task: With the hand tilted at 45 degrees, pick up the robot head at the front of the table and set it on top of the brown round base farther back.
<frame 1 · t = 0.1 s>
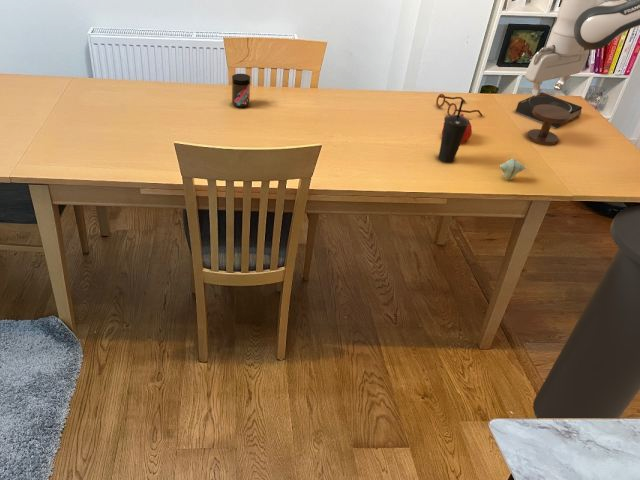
hand: (546, 92, 170), 26 cm above the table, tool pointing down, fingers open, 8 cm apart
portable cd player: (546, 115, 221), on the table
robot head: (507, 179, 183), on the table
supplement container: (240, 105, 218), on the table
glasses: (458, 111, 221), on the table
drinking cup: (445, 159, 191), on the table
brown round base: (541, 138, 205), on the table
red tomato: (454, 139, 203), on the table
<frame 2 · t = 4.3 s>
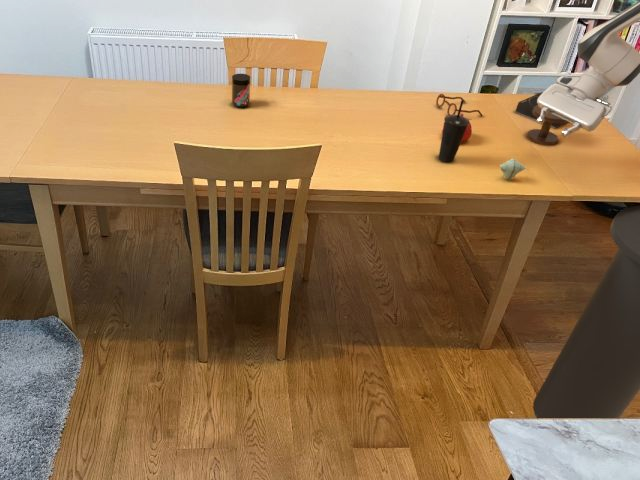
hand: (551, 128, 178), 14 cm above the table, tool tilted 45°, fingers open, 8 cm apart
nothing on the table moved.
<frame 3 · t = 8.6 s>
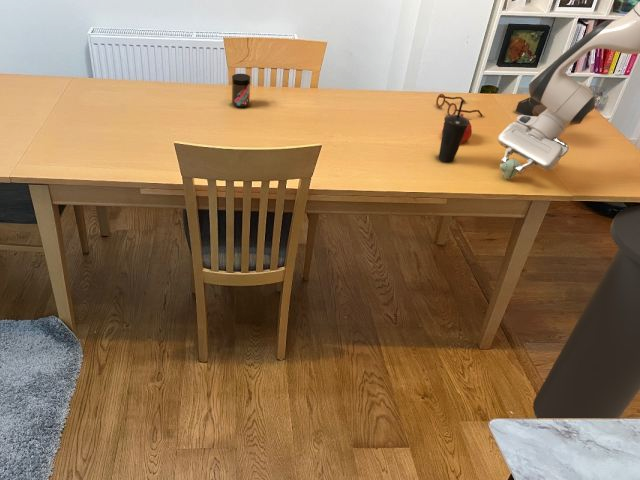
hand: (510, 167, 180), 4 cm above the table, tool tilted 45°, fingers closed on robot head, 4 cm apart
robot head: (507, 179, 183), on the table, touching gripper
everything else where it was.
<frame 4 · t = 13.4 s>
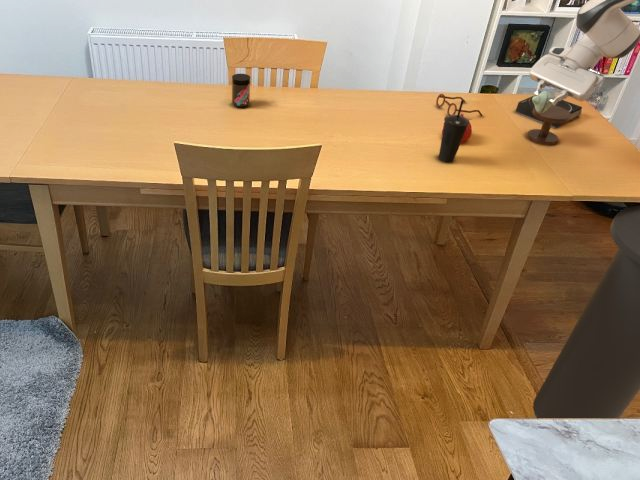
hand: (543, 99, 177), 21 cm above the table, tool tilted 45°, fingers closed on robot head, 4 cm apart
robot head: (539, 113, 180), point 17 cm above the table, touching gripper
everything else where it was.
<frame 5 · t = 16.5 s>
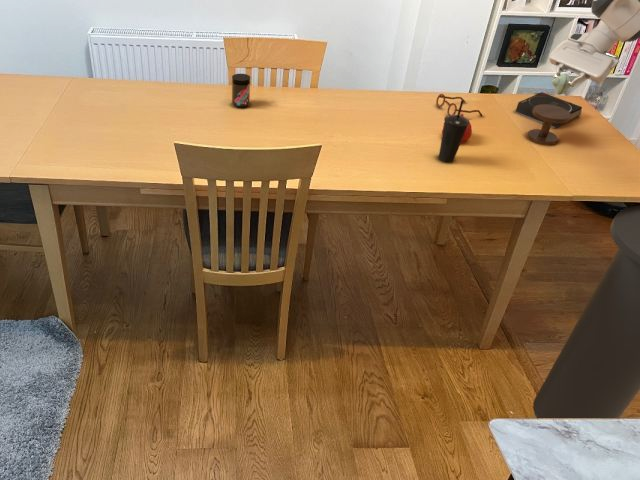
hand: (562, 81, 192), 20 cm above the table, tool tilted 45°, fingers closed on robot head, 4 cm apart
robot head: (558, 94, 195), point 16 cm above the table, touching gripper
everything else where it was.
when the fingers open (14 cm above the table, at t = 18.7 s): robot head stays where it is, resting on brown round base.
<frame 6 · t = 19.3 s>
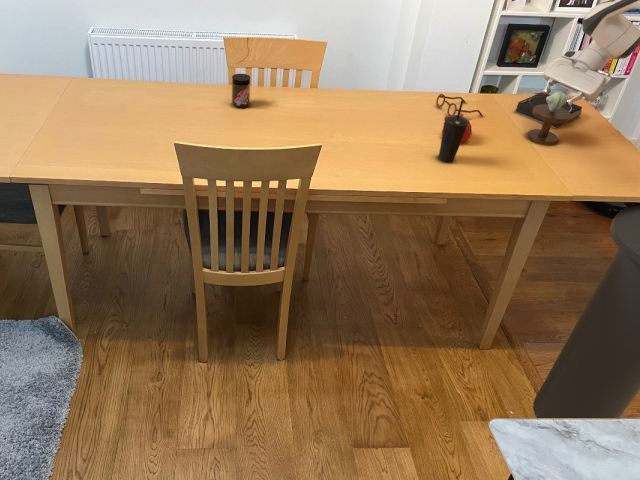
hand: (556, 98, 195), 15 cm above the table, tool tilted 45°, fingers open, 8 cm apart
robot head: (552, 112, 199), point 10 cm above the table, touching brown round base
everything else where it was.
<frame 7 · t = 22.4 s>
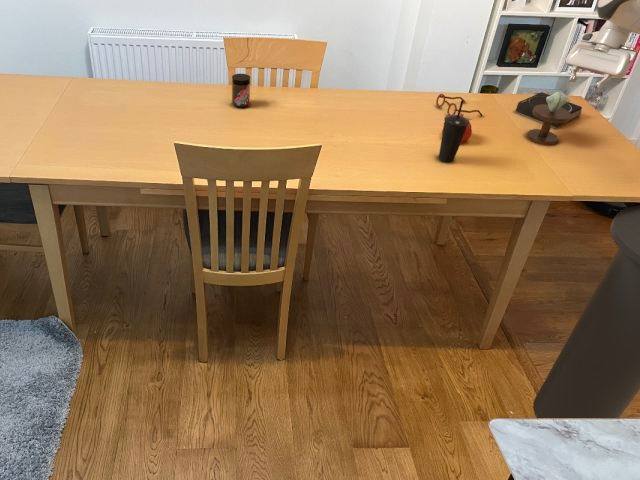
hand: (584, 84, 193), 20 cm above the table, tool tilted 30°, fingers open, 8 cm apart
nothing on the table moved.
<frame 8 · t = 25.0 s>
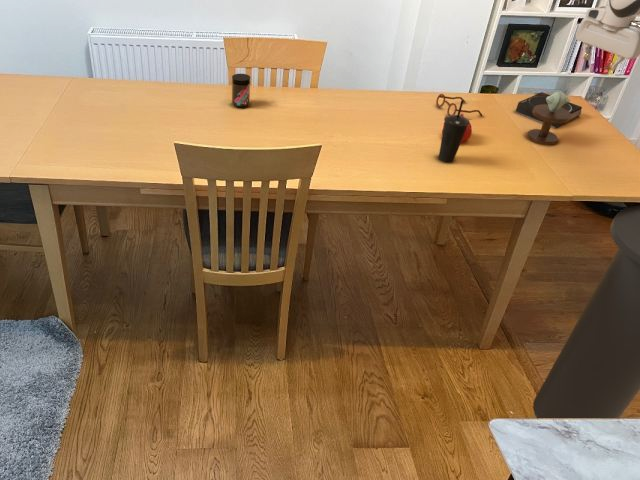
hand: (598, 64, 180), 29 cm above the table, tool pointing down, fingers open, 8 cm apart
nothing on the table moved.
at the end: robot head inside the target area on the brown round base (0.1 cm from its centre), point 9.8 cm above the brown round base's base; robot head tilted 0°; the gripper is holding nothing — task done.
